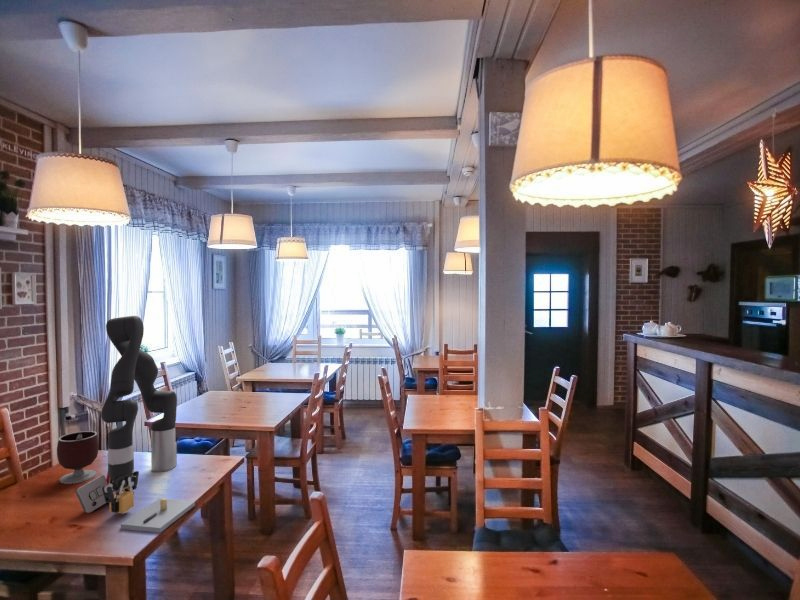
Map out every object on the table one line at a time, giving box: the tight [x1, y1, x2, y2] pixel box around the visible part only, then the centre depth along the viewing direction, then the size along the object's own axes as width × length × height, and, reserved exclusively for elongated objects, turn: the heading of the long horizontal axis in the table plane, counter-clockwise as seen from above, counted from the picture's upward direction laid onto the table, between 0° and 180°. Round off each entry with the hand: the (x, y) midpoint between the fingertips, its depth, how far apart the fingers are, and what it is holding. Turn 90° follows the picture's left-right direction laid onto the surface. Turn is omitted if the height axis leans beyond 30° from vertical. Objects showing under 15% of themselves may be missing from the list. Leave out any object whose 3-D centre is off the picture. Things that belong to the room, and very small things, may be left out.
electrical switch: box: [74, 474, 108, 514], centre depth 158 cm, size 9×5×9 cm, turn 158°
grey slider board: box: [120, 497, 196, 533], centre depth 152 cm, size 18×14×5 cm
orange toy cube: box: [108, 491, 135, 514], centre depth 153 cm, size 5×5×5 cm
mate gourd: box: [56, 430, 100, 485], centre depth 182 cm, size 16×14×20 cm
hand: (121, 507), depth 153 cm, fingers closed on orange toy cube, 5 cm apart
